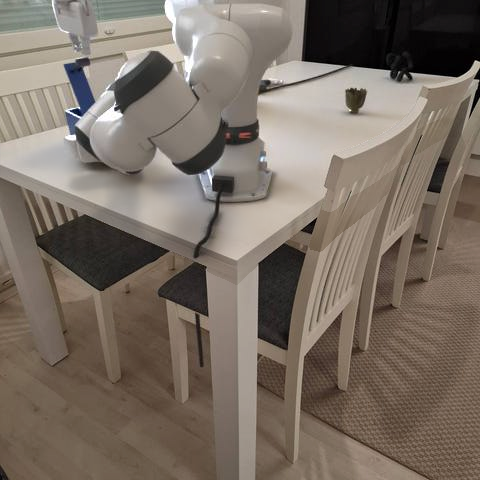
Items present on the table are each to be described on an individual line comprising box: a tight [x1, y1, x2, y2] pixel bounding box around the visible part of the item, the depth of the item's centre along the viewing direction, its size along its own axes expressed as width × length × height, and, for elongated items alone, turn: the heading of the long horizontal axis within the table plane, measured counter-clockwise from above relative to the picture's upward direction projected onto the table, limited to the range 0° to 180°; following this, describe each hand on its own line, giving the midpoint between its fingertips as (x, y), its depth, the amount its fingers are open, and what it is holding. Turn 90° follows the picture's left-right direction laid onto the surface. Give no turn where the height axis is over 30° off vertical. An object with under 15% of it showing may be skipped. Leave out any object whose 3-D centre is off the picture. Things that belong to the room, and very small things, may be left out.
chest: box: [64, 107, 83, 136], centre depth 134 cm, size 15×5×9 cm, turn 41°
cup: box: [344, 87, 368, 115], centre depth 156 cm, size 8×7×8 cm
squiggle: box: [385, 51, 414, 83], centre depth 198 cm, size 11×10×15 cm
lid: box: [63, 56, 96, 115], centre depth 121 cm, size 15×5×9 cm
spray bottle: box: [259, 77, 284, 92], centre depth 191 cm, size 3×11×24 cm
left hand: (82, 52), depth 116 cm, fingers open, 5 cm apart
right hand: (93, 131), depth 130 cm, fingers closed on chest, 5 cm apart
